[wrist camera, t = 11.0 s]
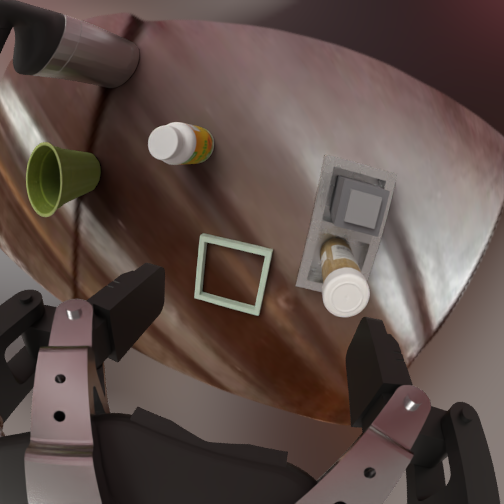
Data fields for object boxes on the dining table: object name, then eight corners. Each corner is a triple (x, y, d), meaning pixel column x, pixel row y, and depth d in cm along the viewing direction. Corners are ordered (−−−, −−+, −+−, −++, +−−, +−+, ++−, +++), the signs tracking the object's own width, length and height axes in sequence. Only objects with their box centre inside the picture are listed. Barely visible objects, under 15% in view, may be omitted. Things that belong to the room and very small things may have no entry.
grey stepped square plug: (329, 210, 35) (334, 227, 26) (337, 174, 33) (345, 179, 24) (363, 218, 34) (379, 238, 25) (371, 184, 32) (391, 192, 23)
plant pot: (100, 128, 39) (52, 127, 28) (118, 187, 41) (70, 199, 31) (64, 158, 42) (20, 165, 32) (80, 212, 45) (36, 227, 35)
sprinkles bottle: (312, 254, 37) (312, 298, 24) (335, 230, 35) (347, 264, 23) (336, 275, 37) (345, 327, 25) (358, 252, 36) (380, 296, 23)
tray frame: (197, 294, 44) (194, 297, 43) (203, 233, 40) (200, 235, 39) (259, 311, 43) (258, 315, 41) (273, 249, 39) (271, 252, 38)
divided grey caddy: (297, 274, 39) (295, 285, 35) (324, 155, 33) (325, 154, 29) (356, 287, 38) (360, 300, 34) (388, 172, 32) (397, 174, 28)
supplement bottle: (204, 170, 37) (170, 174, 28) (174, 153, 37) (136, 154, 28) (221, 136, 35) (191, 130, 26) (190, 121, 35) (154, 112, 26)
